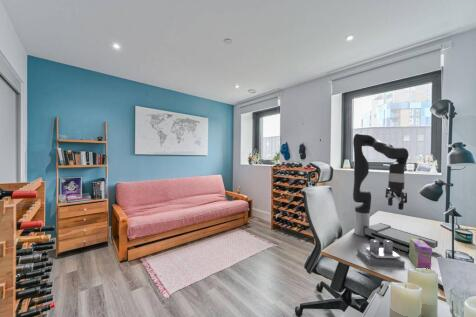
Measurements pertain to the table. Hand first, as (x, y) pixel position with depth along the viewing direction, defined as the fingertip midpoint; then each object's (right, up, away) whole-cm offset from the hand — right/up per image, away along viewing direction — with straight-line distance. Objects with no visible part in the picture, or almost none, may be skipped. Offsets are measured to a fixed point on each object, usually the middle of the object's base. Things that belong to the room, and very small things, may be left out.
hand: (395, 207), depth 119 cm
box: (+5, -29, -10) cm, 31 cm away
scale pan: (-13, -24, -8) cm, 29 cm away
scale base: (-15, -28, -7) cm, 33 cm away
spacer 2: (-10, -23, -8) cm, 27 cm away
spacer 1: (-18, -23, -7) cm, 30 cm away
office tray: (+12, -29, +12) cm, 33 cm away
